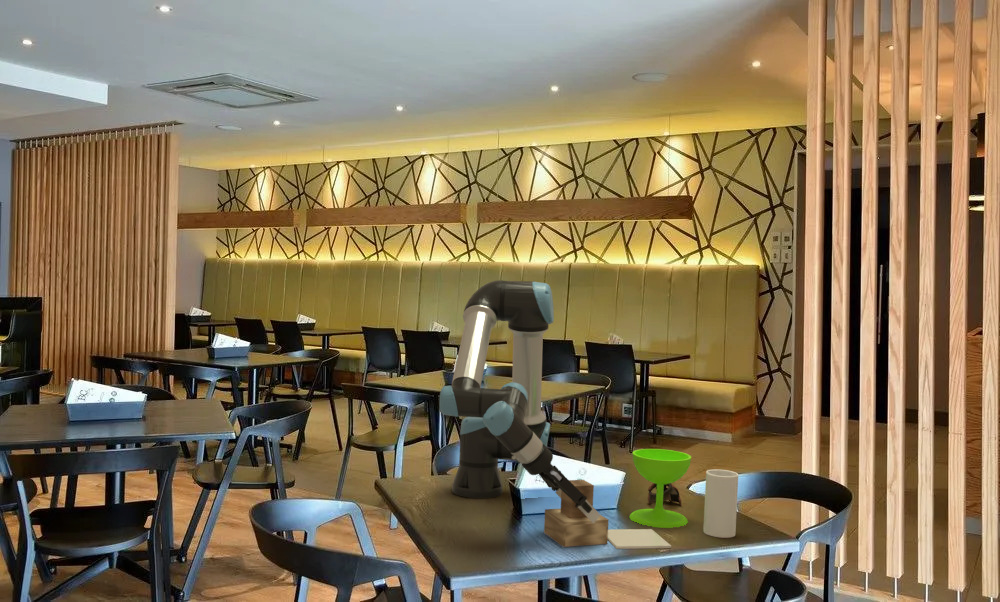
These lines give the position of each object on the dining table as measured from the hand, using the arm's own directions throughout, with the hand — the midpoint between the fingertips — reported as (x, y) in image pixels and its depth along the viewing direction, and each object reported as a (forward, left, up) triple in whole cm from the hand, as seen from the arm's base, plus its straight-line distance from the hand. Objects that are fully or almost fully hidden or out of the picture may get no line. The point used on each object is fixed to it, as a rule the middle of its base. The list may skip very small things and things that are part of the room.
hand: (585, 512), depth 223 cm
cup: (+38, +3, -7) cm, 38 cm away
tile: (+12, -2, -6) cm, 14 cm away
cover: (-2, 0, -6) cm, 7 cm away
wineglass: (+25, +16, -7) cm, 31 cm away
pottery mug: (+33, +32, -7) cm, 46 cm away
